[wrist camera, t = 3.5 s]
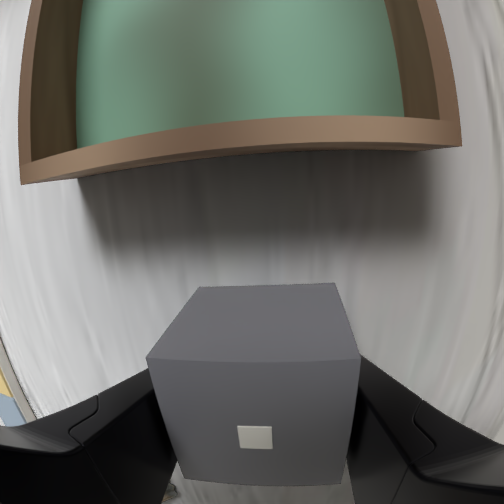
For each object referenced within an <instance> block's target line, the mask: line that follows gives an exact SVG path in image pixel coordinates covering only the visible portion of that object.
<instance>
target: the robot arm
mask: <svg viewBox="0 0 504 504" xmlns="http://www.w3.org/2000/svg"><path fill="white" fill-rule="evenodd" d="M360 357H361V364H360V373H359V381H358V389H357V396H356V403H355V410H354V416H353V423H352V429H351V435H350V440H349V446H348V451H347V456H346V459H347V464H348V469H349V474H350V479H351V484H352V490H353V495H354V500H355V504H504V445H502V444H499V443H497V442H495V441H493V440H491V439H489V438H487V437H485V436H483V435H481V434H479V433H477V432H476V431H474V430H472V429H470V428H468V427H466V426H464V425H462V424H461V423H459V422H457V421H455V420H454V419H452V418H450V417H448V416H447V415H445V414H444V413H442V412H441V411H439V410H437V409H436V408H434V407H433V406H432V405H430V404H429V403H427V402H426V401H424V400H422V398H420V397H419V396H417V395H416V394H415V393H413V392H412V391H410V390H409V389H408V388H406V387H405V386H403V385H402V384H401V383H399V382H398V381H396V380H395V379H394V378H392V377H391V376H389V375H388V374H387V373H385V372H384V371H383V370H381V369H380V368H378V367H377V366H376V365H374V364H373V363H372V362H370V361H369V360H367V359H366V358H365V357H363V356H362V355H361V354H360ZM176 463H177V458H176V455H175V452H174V449H173V447H172V444H171V441H170V438H169V435H168V432H167V429H166V426H165V423H164V420H163V417H162V413H161V410H160V407H159V404H158V400H157V397H156V394H155V390H154V387H153V383H152V379H151V376H150V372H149V368H148V369H146V370H144V371H142V372H140V373H138V374H136V375H134V376H132V377H130V378H128V379H126V380H124V381H123V382H121V383H119V384H117V385H115V386H113V387H111V388H109V389H107V390H105V391H103V392H101V393H99V394H98V395H95V396H93V397H91V398H89V399H87V400H85V401H82V402H80V403H78V404H76V405H74V406H71V407H69V408H66V409H64V410H61V411H59V412H56V413H54V414H51V415H48V416H45V417H43V418H40V419H37V420H34V421H32V422H29V423H26V424H23V425H19V426H0V504H161V503H162V500H163V498H164V495H165V492H166V490H167V487H168V484H169V481H170V479H171V476H172V473H173V471H174V468H175V465H176Z"/></svg>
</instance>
